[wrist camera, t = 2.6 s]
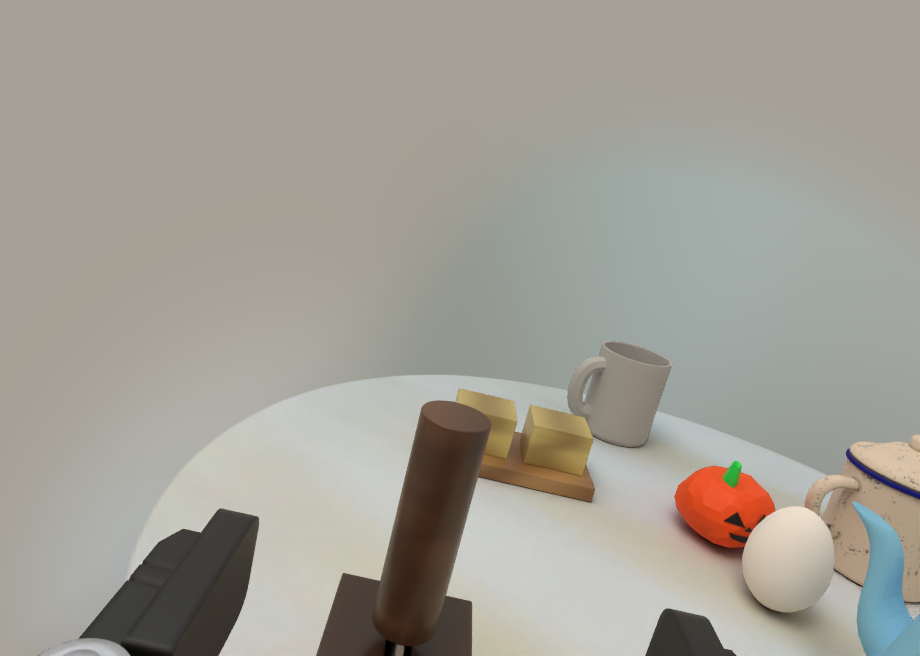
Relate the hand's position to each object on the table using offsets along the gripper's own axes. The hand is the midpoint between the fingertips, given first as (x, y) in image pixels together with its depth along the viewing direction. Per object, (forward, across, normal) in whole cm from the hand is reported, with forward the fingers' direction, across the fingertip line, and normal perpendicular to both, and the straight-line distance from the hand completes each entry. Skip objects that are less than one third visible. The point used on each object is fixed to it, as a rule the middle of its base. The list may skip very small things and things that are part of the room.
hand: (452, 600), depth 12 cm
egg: (+28, -25, +16) cm, 40 cm away
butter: (+40, -7, +16) cm, 44 cm away
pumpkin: (+36, -24, +16) cm, 46 cm away
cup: (+53, -18, +16) cm, 58 cm away
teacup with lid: (+36, -36, +16) cm, 53 cm away
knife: (+11, 0, +16) cm, 19 cm away
